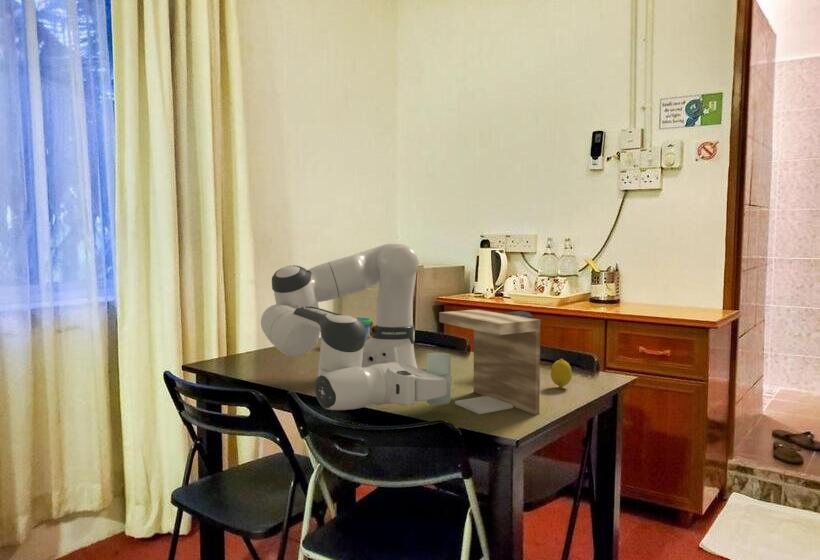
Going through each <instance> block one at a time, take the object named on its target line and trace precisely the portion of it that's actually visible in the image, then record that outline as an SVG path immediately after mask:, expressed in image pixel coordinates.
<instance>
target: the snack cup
mask: <svg viewBox="0 0 820 560" xmlns="http://www.w3.org/2000/svg"><path fill="white" fill-rule="evenodd" d="M357 318H358V319H359V320H360V321H361V322H362V323H363V325H364V326H365V328H366V330H367V333H366V339H365V341H367V340H368V339H369V338H370V327H371V326H372V325H373V324H374V322H373V320H372V319H371V318H369V317H357Z"/></svg>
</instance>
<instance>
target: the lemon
mask: <svg viewBox="0 0 820 560" xmlns="http://www.w3.org/2000/svg"><path fill="white" fill-rule="evenodd" d="M572 373H573V372H572V367H571V365H570V363H569V362H567V361H566V360H564V359H563V358H559V360H556V361H555V362H554V363H552V366H551V370H550V378H551V381H552V382H553V383H554V384H555V385H556V386H558V388H561V389H562V388H564V387H565V386H568V384H569V383H570V382H571V380H572V377H573V376H572V375H573V374H572Z"/></svg>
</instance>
